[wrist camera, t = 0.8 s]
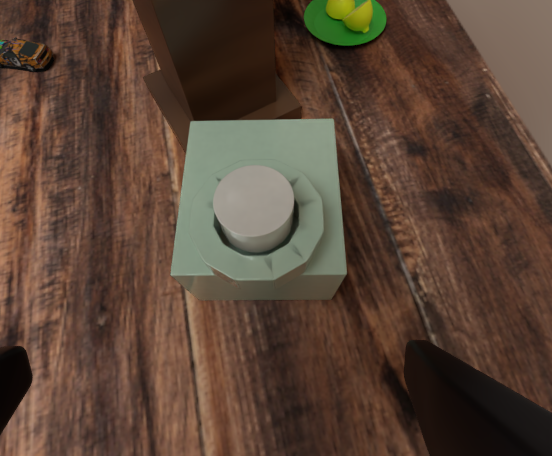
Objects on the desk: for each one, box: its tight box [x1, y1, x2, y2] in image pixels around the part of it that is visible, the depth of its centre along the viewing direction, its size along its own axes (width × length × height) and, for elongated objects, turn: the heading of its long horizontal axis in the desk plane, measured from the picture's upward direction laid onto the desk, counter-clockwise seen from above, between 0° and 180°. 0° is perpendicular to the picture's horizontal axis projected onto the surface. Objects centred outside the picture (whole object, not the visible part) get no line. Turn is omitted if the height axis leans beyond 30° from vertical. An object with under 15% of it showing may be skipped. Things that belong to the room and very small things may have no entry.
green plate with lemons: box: [304, 0, 386, 46], centre depth 32 cm, size 8×8×3 cm
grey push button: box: [213, 165, 294, 252], centre depth 16 cm, size 4×4×2 cm
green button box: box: [170, 119, 347, 300], centre depth 21 cm, size 11×9×8 cm
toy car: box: [0, 37, 54, 72], centre depth 32 cm, size 3×6×2 cm, turn 79°
